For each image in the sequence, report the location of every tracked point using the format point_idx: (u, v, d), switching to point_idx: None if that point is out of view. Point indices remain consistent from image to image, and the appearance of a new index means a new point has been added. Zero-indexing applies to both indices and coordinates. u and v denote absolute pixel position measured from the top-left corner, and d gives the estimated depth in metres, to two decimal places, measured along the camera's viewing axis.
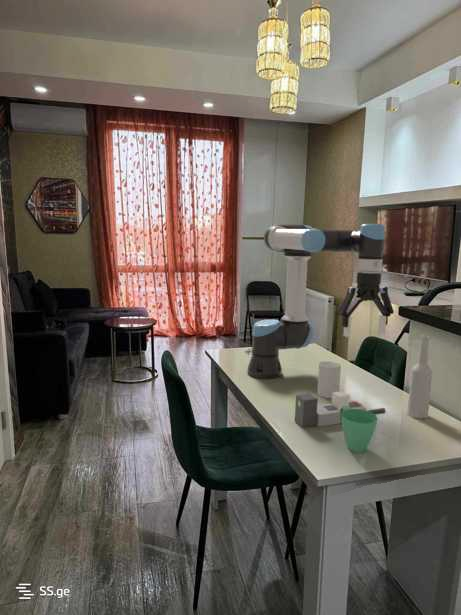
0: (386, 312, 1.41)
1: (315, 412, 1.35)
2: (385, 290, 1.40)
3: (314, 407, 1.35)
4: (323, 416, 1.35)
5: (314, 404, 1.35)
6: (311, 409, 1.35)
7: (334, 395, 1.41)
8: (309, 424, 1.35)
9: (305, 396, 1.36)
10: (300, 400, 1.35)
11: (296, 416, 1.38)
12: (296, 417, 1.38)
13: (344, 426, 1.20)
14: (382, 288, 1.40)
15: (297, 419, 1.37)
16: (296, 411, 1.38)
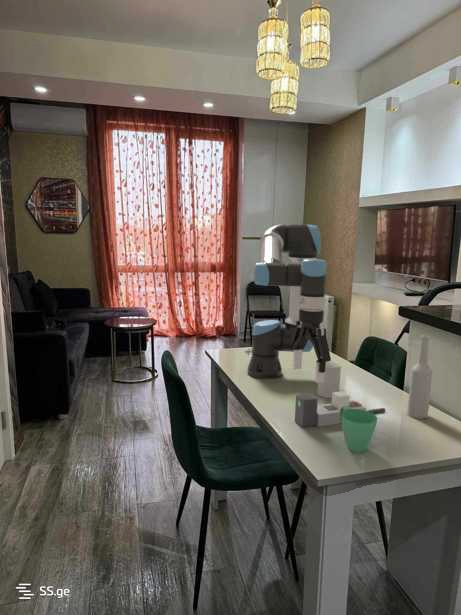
0: (318, 357, 1.27)
1: (315, 412, 1.35)
2: (317, 332, 1.26)
3: (314, 407, 1.35)
4: (323, 416, 1.35)
5: (314, 404, 1.35)
6: (311, 409, 1.35)
7: (334, 395, 1.41)
8: (309, 424, 1.35)
9: (305, 396, 1.36)
10: (300, 400, 1.35)
11: (296, 416, 1.38)
12: (296, 417, 1.38)
13: (344, 426, 1.20)
14: None
15: (297, 419, 1.37)
16: (296, 411, 1.38)
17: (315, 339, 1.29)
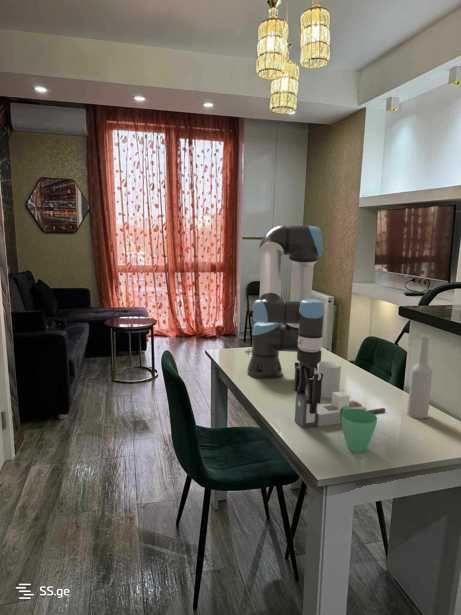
0: (309, 399, 1.32)
1: (315, 412, 1.35)
2: (314, 376, 1.29)
3: None
4: (323, 416, 1.35)
5: None
6: None
7: (334, 395, 1.41)
8: (309, 424, 1.35)
9: (305, 396, 1.36)
10: (300, 400, 1.35)
11: (296, 416, 1.38)
12: (296, 417, 1.38)
13: (344, 426, 1.20)
14: (316, 373, 1.30)
15: (297, 419, 1.37)
16: (296, 411, 1.38)
17: None
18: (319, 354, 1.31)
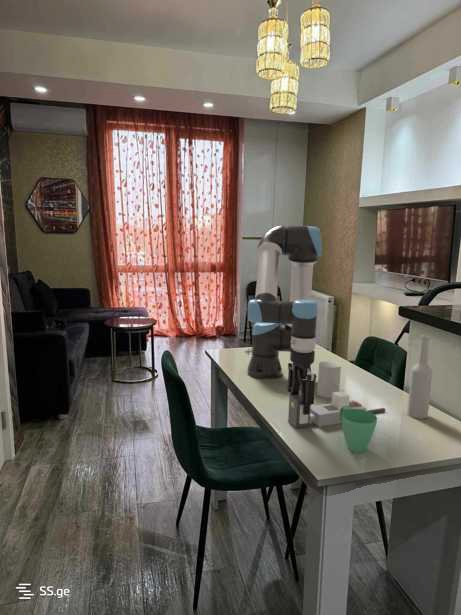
0: (302, 400, 1.32)
1: None
2: (307, 377, 1.28)
3: None
4: (323, 416, 1.35)
5: None
6: None
7: (334, 395, 1.41)
8: (302, 425, 1.34)
9: (298, 397, 1.35)
10: (293, 401, 1.34)
11: (289, 417, 1.37)
12: (289, 418, 1.37)
13: (344, 426, 1.20)
14: (309, 374, 1.29)
15: (291, 420, 1.36)
16: (289, 412, 1.37)
17: None
18: (312, 355, 1.30)
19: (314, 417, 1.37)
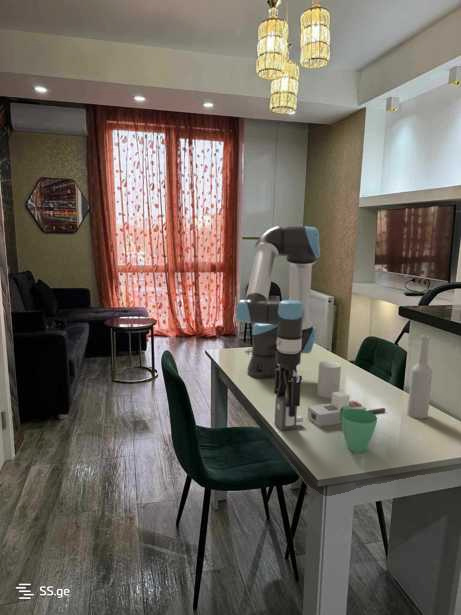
0: (288, 402, 1.30)
1: (295, 415, 1.33)
2: (293, 379, 1.27)
3: None
4: (323, 416, 1.35)
5: None
6: None
7: (334, 395, 1.41)
8: (289, 427, 1.33)
9: (285, 399, 1.34)
10: (279, 403, 1.32)
11: (276, 419, 1.35)
12: (276, 420, 1.35)
13: (344, 426, 1.20)
14: (294, 376, 1.27)
15: (277, 422, 1.35)
16: (276, 414, 1.35)
17: None
18: (298, 356, 1.29)
19: (301, 419, 1.35)
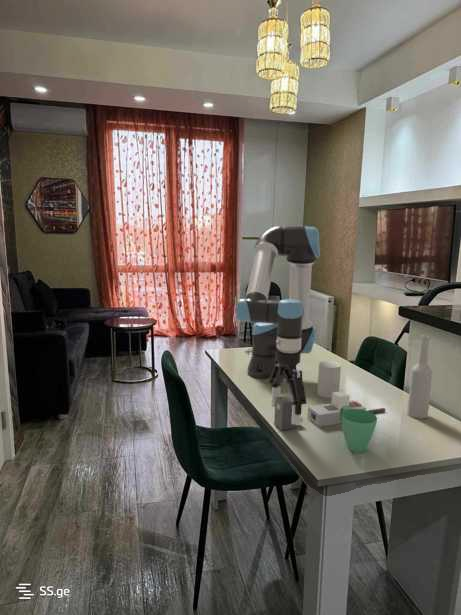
0: (294, 399, 1.26)
1: None
2: (293, 374, 1.26)
3: None
4: (323, 416, 1.35)
5: None
6: (290, 412, 1.32)
7: (334, 395, 1.41)
8: (288, 427, 1.33)
9: (284, 399, 1.34)
10: (279, 403, 1.32)
11: (275, 419, 1.35)
12: (275, 420, 1.35)
13: (344, 426, 1.20)
14: None
15: (276, 422, 1.35)
16: (275, 414, 1.35)
17: (292, 380, 1.29)
18: (298, 355, 1.28)
19: None
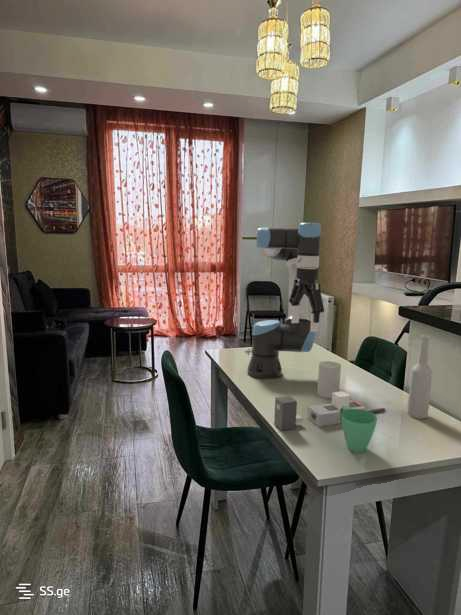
0: (313, 309, 1.43)
1: (294, 415, 1.33)
2: (312, 287, 1.43)
3: (293, 410, 1.32)
4: (323, 416, 1.35)
5: (293, 407, 1.32)
6: (290, 412, 1.32)
7: (334, 395, 1.41)
8: (288, 427, 1.33)
9: (284, 399, 1.34)
10: (279, 403, 1.32)
11: (275, 419, 1.35)
12: (275, 420, 1.35)
13: (344, 426, 1.20)
14: None
15: (276, 422, 1.35)
16: (275, 414, 1.35)
17: (310, 293, 1.46)
18: (316, 271, 1.46)
19: (300, 419, 1.35)
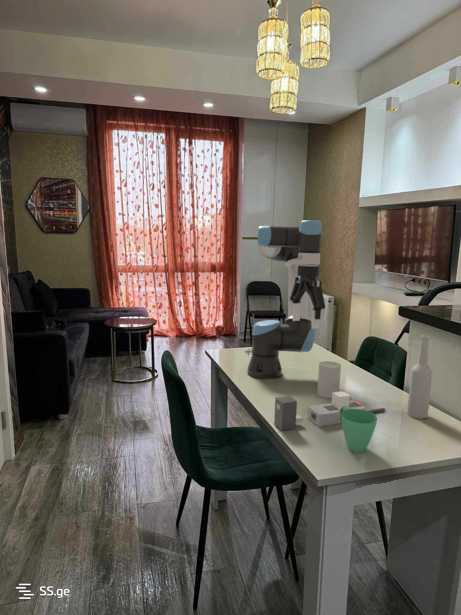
0: (314, 306, 1.44)
1: (294, 415, 1.33)
2: (313, 284, 1.44)
3: (293, 410, 1.32)
4: (323, 416, 1.35)
5: (293, 407, 1.32)
6: (290, 412, 1.32)
7: (334, 395, 1.41)
8: (288, 427, 1.33)
9: (284, 399, 1.34)
10: (279, 403, 1.32)
11: (275, 419, 1.35)
12: (275, 420, 1.35)
13: (344, 426, 1.20)
14: None
15: (276, 422, 1.35)
16: (275, 414, 1.35)
17: (312, 291, 1.47)
18: (317, 268, 1.47)
19: (300, 419, 1.35)
